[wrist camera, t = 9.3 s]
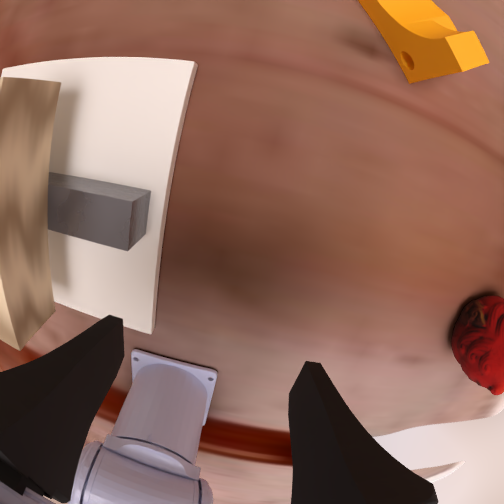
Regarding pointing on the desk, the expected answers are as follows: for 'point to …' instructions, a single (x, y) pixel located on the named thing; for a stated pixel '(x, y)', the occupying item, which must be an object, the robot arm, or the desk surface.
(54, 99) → the oak bar
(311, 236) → the desk surface
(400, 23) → the pipe clamp
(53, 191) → the stand
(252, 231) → the desk surface
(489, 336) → the red clay folk toy
